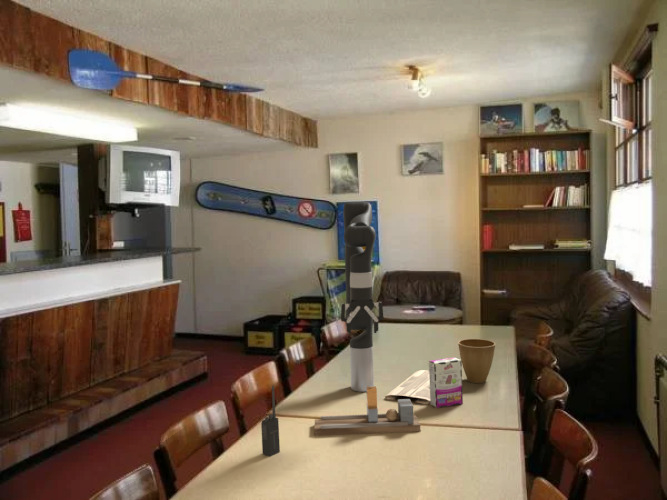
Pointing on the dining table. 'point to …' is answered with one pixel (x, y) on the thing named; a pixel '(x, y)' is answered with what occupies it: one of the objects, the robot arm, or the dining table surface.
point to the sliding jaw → (372, 405)
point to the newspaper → (414, 387)
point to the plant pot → (476, 358)
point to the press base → (361, 425)
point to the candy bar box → (445, 382)
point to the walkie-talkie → (270, 432)
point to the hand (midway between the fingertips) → (362, 333)
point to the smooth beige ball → (392, 415)
